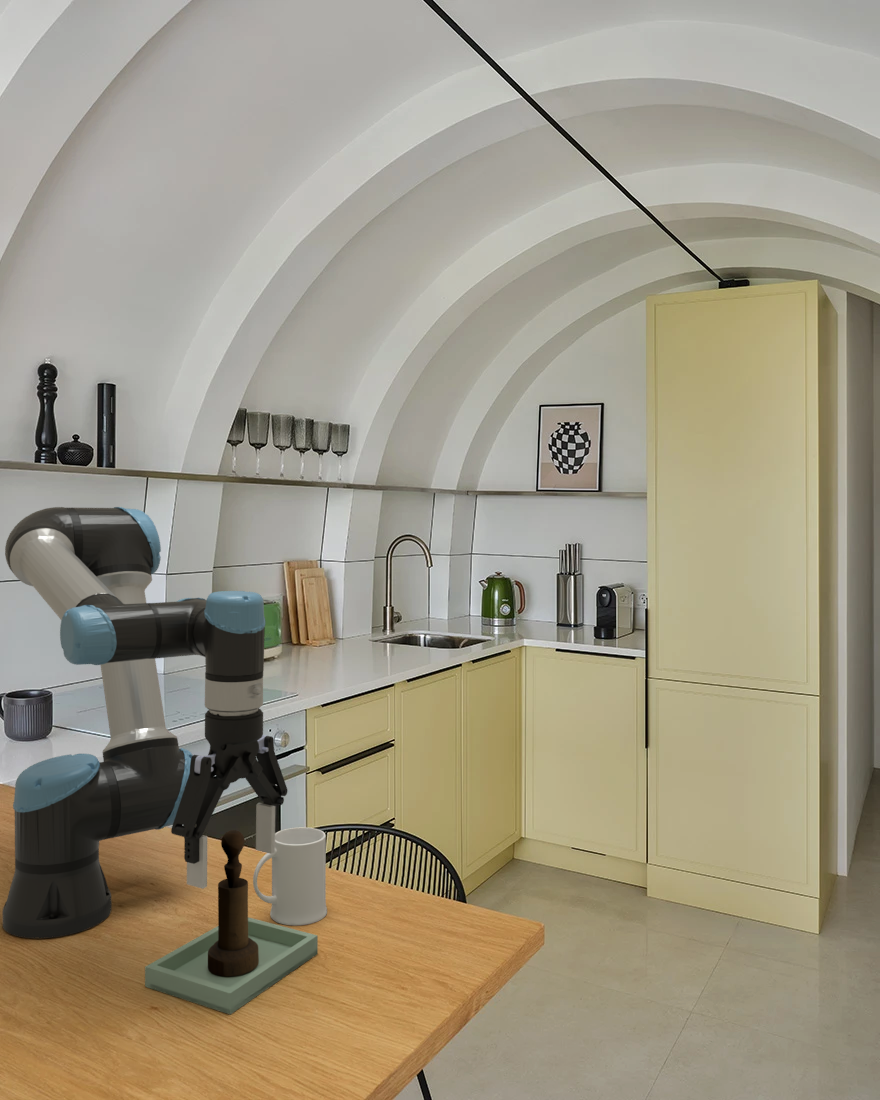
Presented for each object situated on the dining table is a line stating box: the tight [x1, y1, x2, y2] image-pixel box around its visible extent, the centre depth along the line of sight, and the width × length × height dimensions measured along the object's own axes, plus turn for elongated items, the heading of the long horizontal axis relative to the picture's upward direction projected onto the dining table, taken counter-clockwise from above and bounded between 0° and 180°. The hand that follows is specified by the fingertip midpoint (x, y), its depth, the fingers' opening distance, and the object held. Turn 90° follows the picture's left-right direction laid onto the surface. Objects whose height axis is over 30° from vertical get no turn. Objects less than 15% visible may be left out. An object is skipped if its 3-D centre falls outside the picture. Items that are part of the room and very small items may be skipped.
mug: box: [252, 826, 328, 927], centre depth 141 cm, size 12×8×12 cm
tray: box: [144, 916, 319, 1015], centre depth 124 cm, size 14×18×3 cm
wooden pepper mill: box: [208, 829, 259, 977], centre depth 124 cm, size 7×6×18 cm
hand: (232, 867), depth 124 cm, fingers open, 13 cm apart
